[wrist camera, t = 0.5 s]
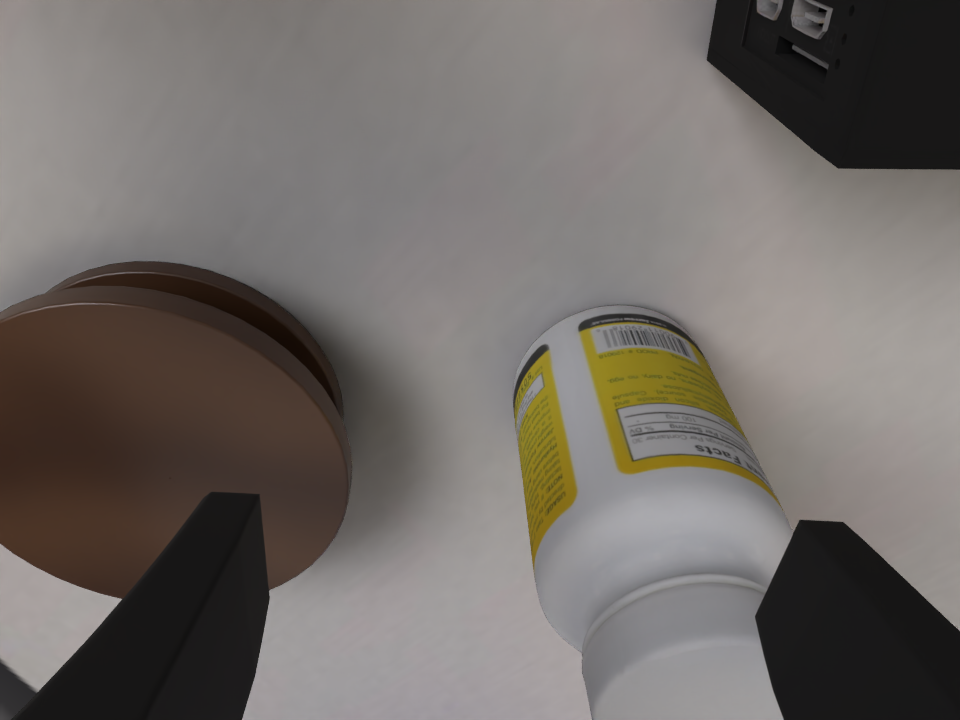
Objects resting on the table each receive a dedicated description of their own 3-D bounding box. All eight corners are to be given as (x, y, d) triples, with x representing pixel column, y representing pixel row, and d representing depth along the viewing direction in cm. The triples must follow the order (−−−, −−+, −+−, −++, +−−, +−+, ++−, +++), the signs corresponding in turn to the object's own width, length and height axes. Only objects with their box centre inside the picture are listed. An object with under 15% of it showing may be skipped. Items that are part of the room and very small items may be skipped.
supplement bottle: (567, 480, 23) (629, 817, 15) (475, 358, 21) (488, 687, 12) (732, 404, 22) (899, 733, 14) (656, 262, 19) (805, 565, 11)
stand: (380, 520, 24) (372, 597, 21) (68, 536, 24) (23, 615, 21) (332, 231, 18) (313, 290, 16) (-75, 252, 18) (-158, 315, 16)
